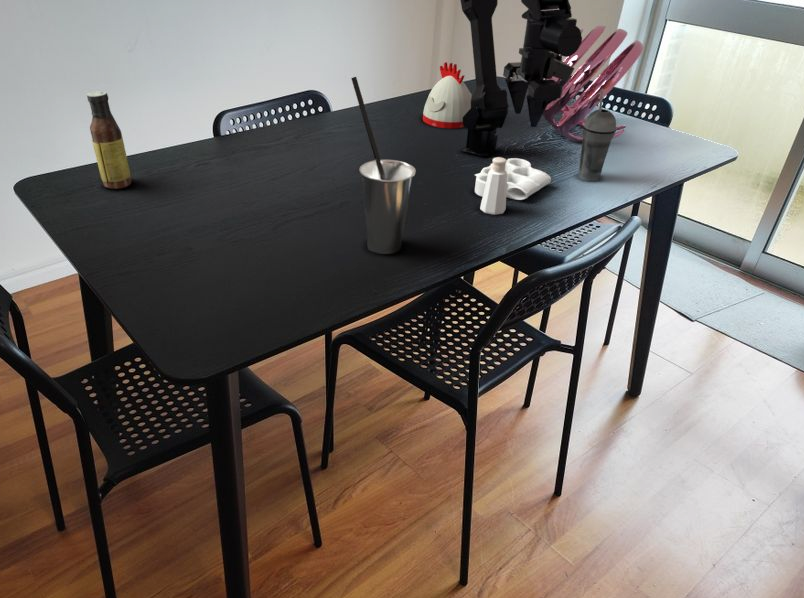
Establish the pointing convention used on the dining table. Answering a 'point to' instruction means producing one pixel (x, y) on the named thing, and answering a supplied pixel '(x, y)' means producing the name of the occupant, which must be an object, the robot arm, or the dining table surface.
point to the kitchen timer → (448, 100)
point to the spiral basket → (585, 73)
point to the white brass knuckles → (516, 179)
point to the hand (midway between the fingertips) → (525, 120)
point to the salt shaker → (495, 188)
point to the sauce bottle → (108, 143)
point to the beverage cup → (596, 142)
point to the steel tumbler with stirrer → (384, 194)
